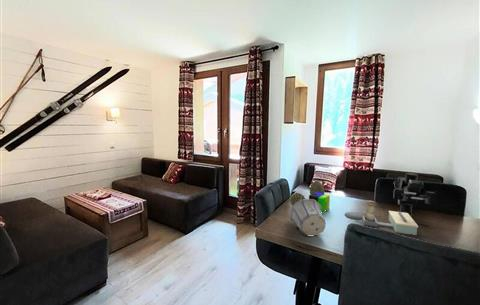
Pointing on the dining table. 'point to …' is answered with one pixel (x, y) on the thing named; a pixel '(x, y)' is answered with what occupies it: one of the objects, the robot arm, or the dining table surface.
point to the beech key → (370, 210)
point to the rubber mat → (353, 215)
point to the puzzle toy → (321, 200)
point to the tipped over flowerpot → (307, 215)
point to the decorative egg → (316, 188)
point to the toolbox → (396, 223)
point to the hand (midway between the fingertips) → (417, 201)
